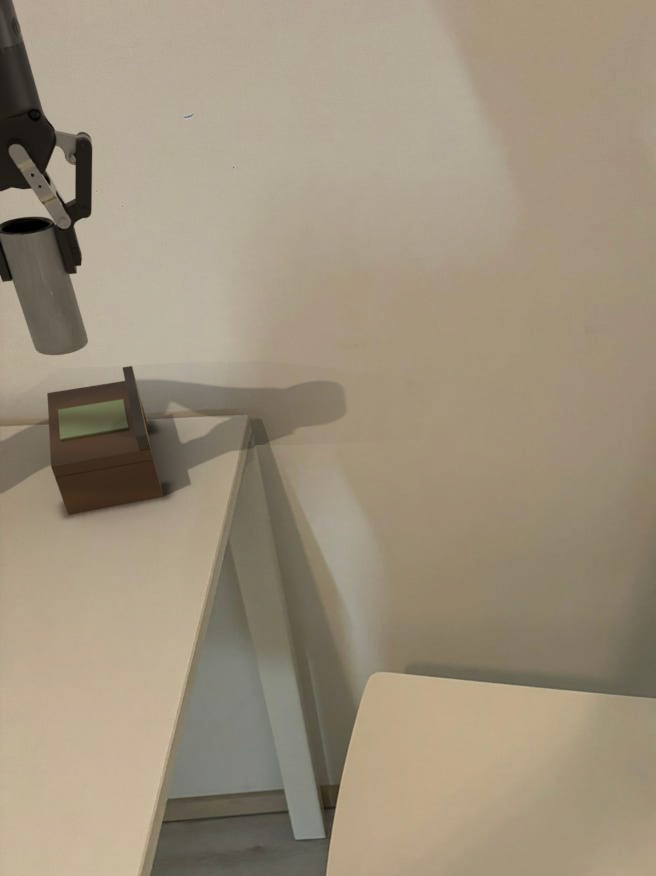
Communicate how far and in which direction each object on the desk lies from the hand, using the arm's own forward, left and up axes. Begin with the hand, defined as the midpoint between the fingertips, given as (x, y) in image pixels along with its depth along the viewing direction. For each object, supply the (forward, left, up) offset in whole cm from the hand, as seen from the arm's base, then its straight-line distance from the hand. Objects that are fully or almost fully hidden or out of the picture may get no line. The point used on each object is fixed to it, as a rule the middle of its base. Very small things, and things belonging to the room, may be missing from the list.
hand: (39, 273), depth 79 cm
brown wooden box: (-2, +4, -22) cm, 23 cm away
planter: (0, 0, -7) cm, 7 cm away
